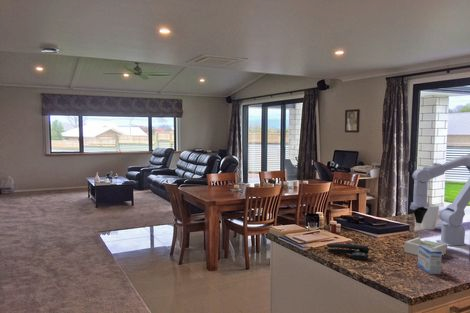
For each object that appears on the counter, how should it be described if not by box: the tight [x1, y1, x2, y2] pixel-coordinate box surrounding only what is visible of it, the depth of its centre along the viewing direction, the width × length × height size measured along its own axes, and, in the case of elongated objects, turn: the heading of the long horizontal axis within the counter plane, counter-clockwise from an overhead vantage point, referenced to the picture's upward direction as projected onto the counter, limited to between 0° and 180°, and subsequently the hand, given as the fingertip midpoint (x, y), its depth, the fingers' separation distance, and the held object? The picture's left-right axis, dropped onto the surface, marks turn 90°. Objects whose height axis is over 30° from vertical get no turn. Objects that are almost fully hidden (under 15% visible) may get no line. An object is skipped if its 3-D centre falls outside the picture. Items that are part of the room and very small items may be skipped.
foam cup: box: [420, 203, 440, 231], centre depth 200 cm, size 10×9×13 cm
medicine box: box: [417, 244, 443, 275], centre depth 138 cm, size 8×4×9 cm, turn 5°
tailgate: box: [420, 239, 448, 249], centre depth 163 cm, size 2×9×5 cm
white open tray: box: [404, 237, 447, 257], centre depth 158 cm, size 12×12×4 cm
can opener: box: [326, 242, 370, 261], centre depth 154 cm, size 18×7×6 cm, turn 57°
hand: (418, 222), depth 173 cm, fingers closed
